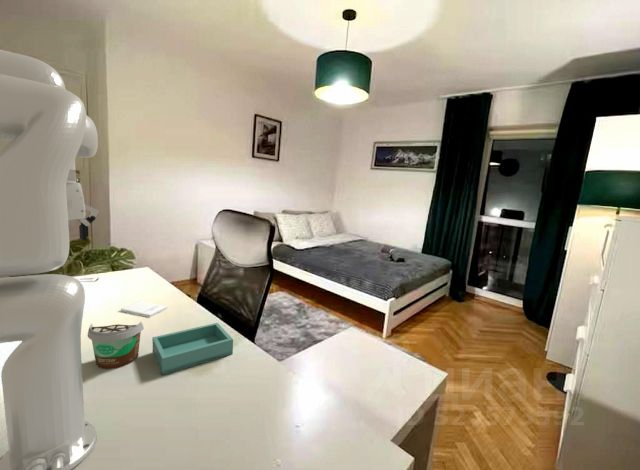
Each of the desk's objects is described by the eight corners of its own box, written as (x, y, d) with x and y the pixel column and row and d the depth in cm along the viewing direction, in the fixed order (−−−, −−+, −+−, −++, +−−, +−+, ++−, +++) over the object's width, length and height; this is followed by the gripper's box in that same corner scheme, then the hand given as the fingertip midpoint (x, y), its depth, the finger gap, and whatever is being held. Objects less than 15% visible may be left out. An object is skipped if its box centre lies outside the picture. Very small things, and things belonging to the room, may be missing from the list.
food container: (79, 374, 72) (77, 335, 71) (90, 359, 78) (89, 323, 76) (137, 369, 75) (136, 332, 74) (144, 356, 81) (143, 321, 80)
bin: (232, 354, 85) (233, 339, 85) (162, 375, 74) (162, 358, 73) (217, 336, 94) (217, 322, 94) (152, 352, 83) (152, 337, 82)
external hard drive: (139, 304, 114) (167, 310, 111) (120, 313, 106) (150, 319, 103) (139, 300, 114) (167, 305, 111) (120, 308, 106) (150, 314, 103)
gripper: (12, 174, 68) (18, 247, 71) (102, 179, 82) (104, 240, 85) (6, 172, 72) (12, 242, 75) (92, 177, 86) (94, 236, 89)
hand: (61, 241), depth 80 cm, fingers open, 9 cm apart
